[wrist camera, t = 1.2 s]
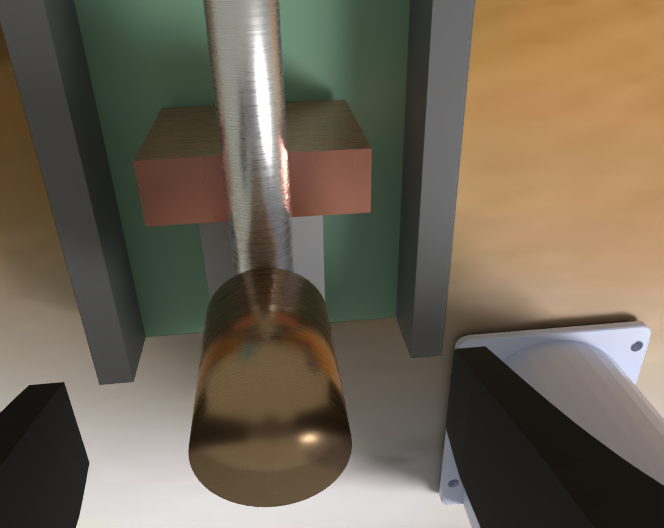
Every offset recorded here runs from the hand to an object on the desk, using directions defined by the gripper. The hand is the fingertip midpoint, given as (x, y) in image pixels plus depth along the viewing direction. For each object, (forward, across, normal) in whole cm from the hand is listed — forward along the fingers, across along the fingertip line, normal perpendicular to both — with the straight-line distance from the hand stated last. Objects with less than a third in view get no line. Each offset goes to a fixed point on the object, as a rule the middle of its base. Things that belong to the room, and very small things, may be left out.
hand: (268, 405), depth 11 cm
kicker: (+8, 0, -6) cm, 10 cm away
